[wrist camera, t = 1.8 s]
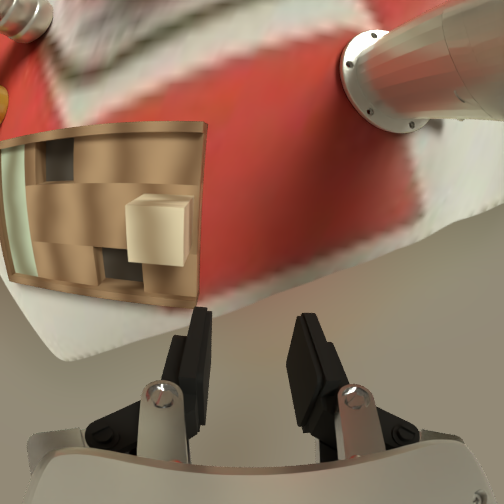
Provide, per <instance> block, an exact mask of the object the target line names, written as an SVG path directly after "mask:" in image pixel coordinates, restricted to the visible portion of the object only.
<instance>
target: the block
mask: <svg viewBox="0 0 504 504" xmlns="http://www.w3.org/2000/svg"><path fill="white" fill-rule="evenodd" d="M193 209H194V196H190V195H170V194H143V195H141V196H139V197H138V198H136V199H134V200H133V201H131V202H130V203H128V204H126V205H125V215H126V236H127V251H128V262H136V263H147V264H158V265H170V266H182V267H183V266H184V264H185V261H186V259H187V257H188V254H189V252H190V250H191V247H192V239H193Z"/></svg>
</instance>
